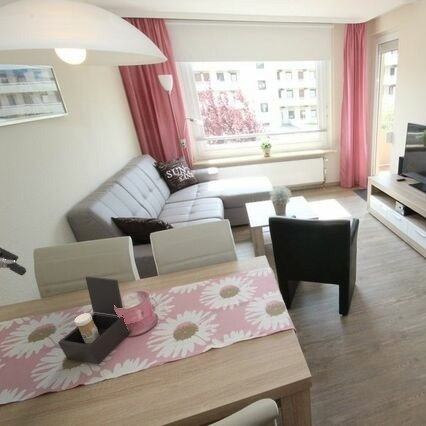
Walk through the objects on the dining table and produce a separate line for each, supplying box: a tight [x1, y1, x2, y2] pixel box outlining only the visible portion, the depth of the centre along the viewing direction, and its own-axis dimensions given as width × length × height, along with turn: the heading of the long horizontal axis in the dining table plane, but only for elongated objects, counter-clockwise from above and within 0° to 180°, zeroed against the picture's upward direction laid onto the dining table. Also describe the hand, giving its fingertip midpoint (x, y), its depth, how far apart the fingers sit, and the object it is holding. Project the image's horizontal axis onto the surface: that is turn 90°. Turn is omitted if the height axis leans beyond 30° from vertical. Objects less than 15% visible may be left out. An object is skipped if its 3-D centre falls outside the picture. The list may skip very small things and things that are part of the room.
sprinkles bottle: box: [74, 312, 100, 345], centre depth 102 cm, size 5×5×14 cm
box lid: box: [85, 275, 124, 317], centre depth 107 cm, size 14×13×1 cm
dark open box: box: [57, 312, 131, 365], centre depth 105 cm, size 14×13×8 cm
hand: (11, 282), depth 85 cm, fingers open, 8 cm apart
